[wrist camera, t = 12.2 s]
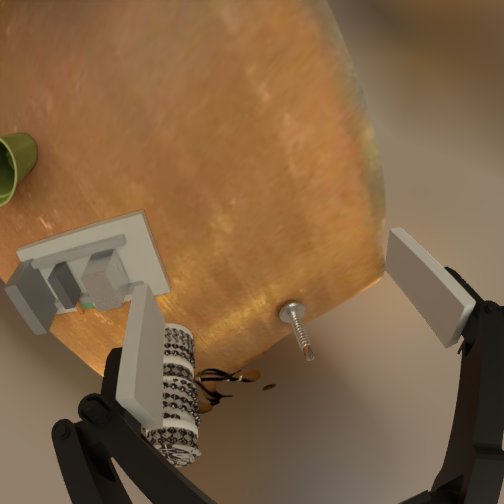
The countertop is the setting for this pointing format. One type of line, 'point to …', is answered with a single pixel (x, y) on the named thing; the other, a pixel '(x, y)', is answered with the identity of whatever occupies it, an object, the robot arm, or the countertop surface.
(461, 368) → the robot arm
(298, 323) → the screw
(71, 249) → the base
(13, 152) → the plant pot
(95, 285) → the plunger
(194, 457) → the decorative candle
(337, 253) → the countertop surface
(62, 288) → the dark grey upright block
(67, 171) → the countertop surface
